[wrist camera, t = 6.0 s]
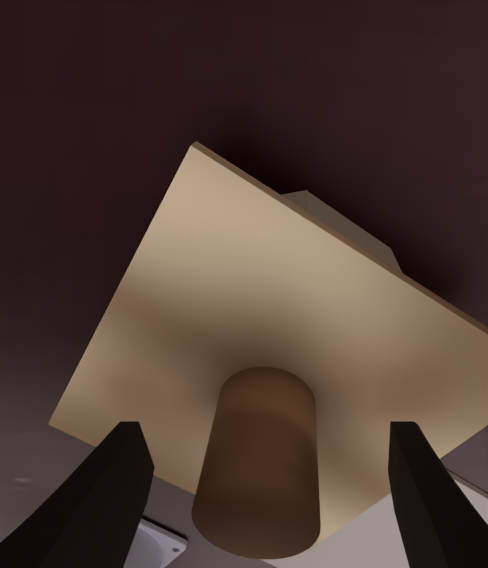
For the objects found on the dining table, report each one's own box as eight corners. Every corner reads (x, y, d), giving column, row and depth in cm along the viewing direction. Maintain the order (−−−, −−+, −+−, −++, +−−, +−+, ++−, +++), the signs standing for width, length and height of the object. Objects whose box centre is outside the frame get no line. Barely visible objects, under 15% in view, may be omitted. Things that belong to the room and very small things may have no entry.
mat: (369, 606, 30) (370, 612, 29) (205, 525, 27) (203, 531, 27) (536, 522, 23) (540, 529, 23) (339, 407, 21) (340, 413, 20)
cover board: (309, 535, 18) (311, 673, 14) (56, 412, 16) (-26, 530, 12) (544, 364, 12) (662, 512, 8) (196, 140, 10) (130, 193, 6)
